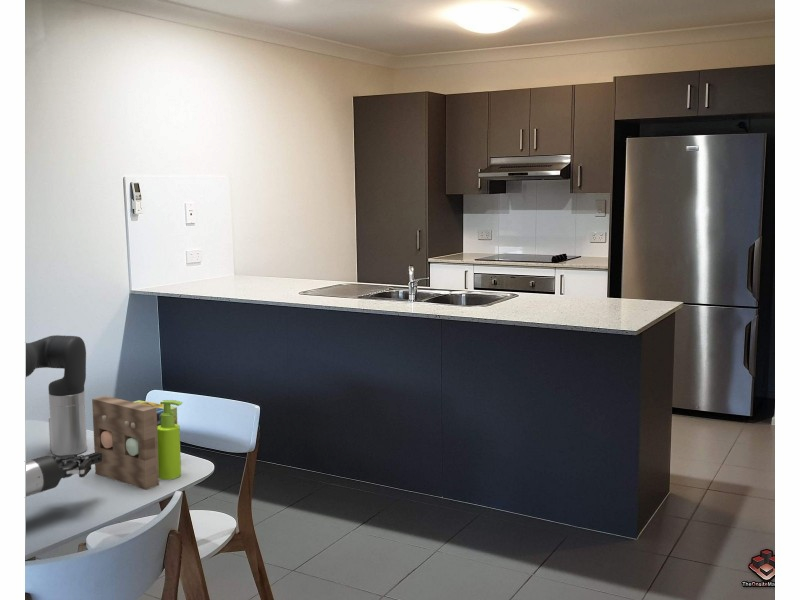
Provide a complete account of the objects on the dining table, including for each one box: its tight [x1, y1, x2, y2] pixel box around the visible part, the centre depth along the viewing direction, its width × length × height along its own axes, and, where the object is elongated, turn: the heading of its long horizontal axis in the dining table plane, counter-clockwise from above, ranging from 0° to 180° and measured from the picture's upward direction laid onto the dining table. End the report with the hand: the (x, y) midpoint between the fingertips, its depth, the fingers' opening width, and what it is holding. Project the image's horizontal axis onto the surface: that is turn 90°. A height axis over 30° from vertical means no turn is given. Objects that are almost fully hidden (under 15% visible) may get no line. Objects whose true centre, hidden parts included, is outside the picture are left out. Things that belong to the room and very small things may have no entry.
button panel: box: [91, 395, 160, 490], centre depth 195 cm, size 20×4×20 cm, turn 57°
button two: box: [126, 437, 138, 456], centre depth 192 cm, size 4×3×4 cm
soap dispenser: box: [157, 399, 183, 481], centre depth 198 cm, size 6×7×20 cm
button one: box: [101, 431, 113, 448], centre depth 197 cm, size 4×3×4 cm
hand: (100, 456), depth 183 cm, fingers closed
